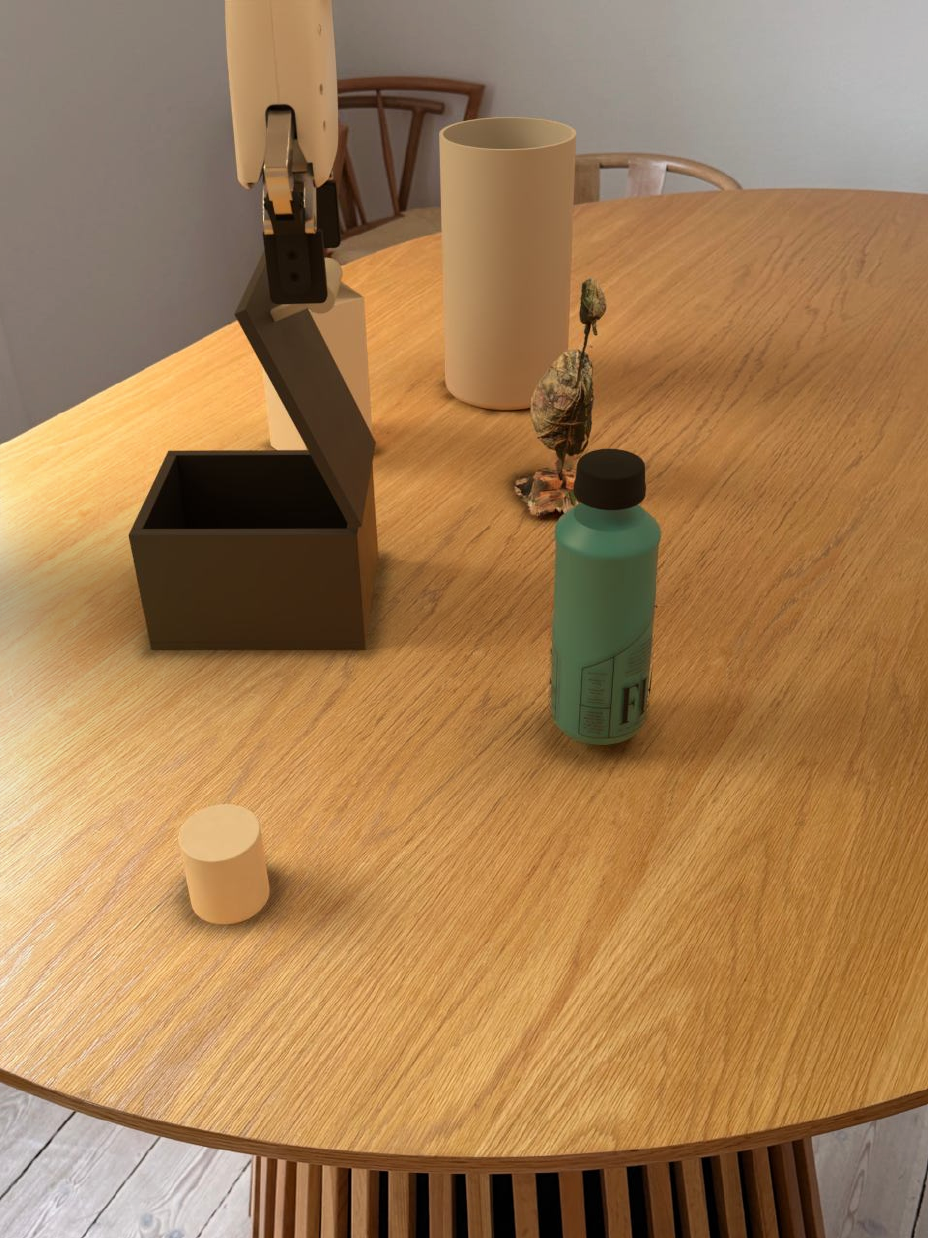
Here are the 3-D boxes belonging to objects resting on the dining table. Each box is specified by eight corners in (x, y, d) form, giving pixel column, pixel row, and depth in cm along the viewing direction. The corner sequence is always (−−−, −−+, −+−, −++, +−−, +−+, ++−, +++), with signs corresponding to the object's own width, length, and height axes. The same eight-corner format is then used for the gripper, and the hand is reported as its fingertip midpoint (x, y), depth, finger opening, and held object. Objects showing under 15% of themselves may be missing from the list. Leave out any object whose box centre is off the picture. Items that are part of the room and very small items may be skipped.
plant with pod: (610, 466, 111) (623, 247, 99) (600, 528, 102) (613, 295, 90) (522, 459, 112) (525, 243, 100) (504, 521, 103) (505, 290, 91)
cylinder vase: (458, 418, 119) (453, 153, 105) (435, 369, 129) (428, 121, 115) (581, 406, 121) (592, 144, 107) (549, 358, 131) (556, 113, 117)
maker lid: (233, 313, 73) (310, 281, 72) (264, 247, 84) (332, 218, 83) (351, 530, 82) (421, 505, 81) (366, 445, 92) (429, 422, 91)
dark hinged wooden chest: (151, 651, 88) (128, 534, 82) (186, 559, 98) (168, 450, 93) (365, 651, 88) (357, 534, 82) (378, 558, 98) (371, 449, 92)
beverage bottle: (623, 777, 76) (646, 498, 65) (528, 745, 79) (534, 471, 68) (661, 719, 81) (689, 449, 70) (571, 690, 84) (583, 425, 72)
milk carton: (334, 426, 118) (319, 230, 107) (374, 453, 113) (362, 250, 103) (270, 446, 115) (247, 246, 104) (308, 475, 110) (288, 268, 99)
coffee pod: (175, 898, 69) (161, 834, 66) (236, 855, 71) (225, 792, 68) (224, 938, 66) (212, 874, 63) (285, 892, 69) (276, 829, 66)
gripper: (229, -69, 70) (264, 230, 80) (172, -29, 56) (222, 328, 65) (360, -72, 70) (378, 227, 80) (336, -34, 56) (361, 325, 65)
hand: (308, 272), depth 73 cm, fingers open, 9 cm apart
